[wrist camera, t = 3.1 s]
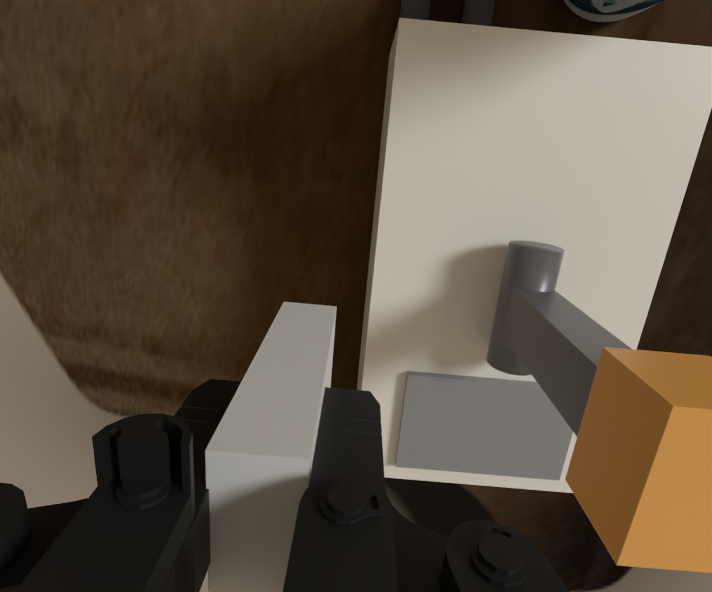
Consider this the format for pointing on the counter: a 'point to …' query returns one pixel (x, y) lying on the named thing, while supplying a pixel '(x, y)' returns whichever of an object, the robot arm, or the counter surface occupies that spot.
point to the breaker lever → (615, 417)
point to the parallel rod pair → (474, 12)
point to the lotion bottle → (609, 8)
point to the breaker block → (513, 226)
